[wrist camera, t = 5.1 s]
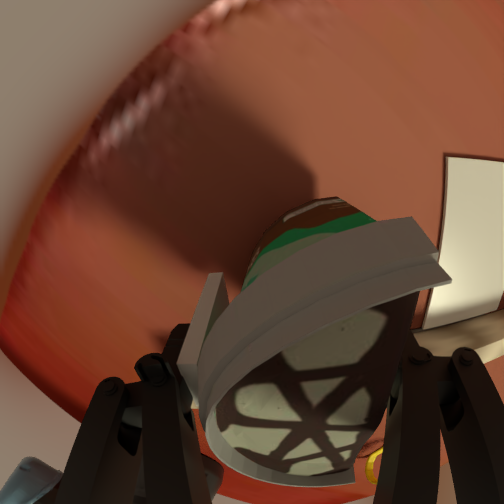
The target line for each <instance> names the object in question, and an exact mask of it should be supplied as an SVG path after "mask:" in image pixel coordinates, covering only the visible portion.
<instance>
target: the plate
mask: <svg viewBox="0 0 504 504" xmlns="http://www.w3.org/2000/svg"><path fill="white" fill-rule="evenodd" d="M437 263H438V264H439V265H440V266H441V267H442V268H443V269H444V270H445V272H446V273H447V274H448V275H449V276H450V277H451V278H452V283H451V284H447V285H442V286H438V287H434V288H431V293H430V297H429V302H428V306H427V310H426V313H425V317H424V321H423V324H422V329H423V330H424V329H429V328H433V327H437V326H441V325H445V324H449V323H453V322H457V321H461V320H464V319H468V318H471V317H475V316H478V315H482V314H485V313H488V312H491V311H495V310H497V308H498V306H499V303H500V300H501V297H502V294H503V291H504V162H498V161H490V160H481V159H471V158H459V157H446V173H445V196H444V209H443V220H442V229H441V237H440V244H439V255H438V260H437Z"/></svg>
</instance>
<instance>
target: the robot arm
mask: <svg viewBox="0 0 504 504" xmlns="http://www.w3.org/2000/svg"><path fill="white" fill-rule="evenodd" d="M228 306H229V300H228V295H227V290H226V285H225V280H224V275H223V272H218V273H209V275H208V278H207V280H206V283H205V285H204V288H203V291H202V294H201V296H200V299H199V302H198V304H197V307H196V310H195V313H194V315H193V318H192V321H191V324H178V325H177V326H176V327H175V328H174V329H173V330H172V331H171V334H170V336H169V338H168V341H167V343H166V347H165V348H164V350H163V353H162V354H159V353H150V354H147V355H145V356H143V357H141V358H140V359H139V360H138V361H137V362H136V364H135V367H134V369H135V370H136V372H137V374H138V376H139V377H140V379H141V381H139V382H134V383H129V384H125V383H124V382H123V380H121V379H120V378H118V377H109V378H106V379H104V380H103V381H102V382H100V383H99V385H98V386H97V388H96V390H95V393H94V395H93V397H92V400H91V402H90V404H89V407H88V409H87V412H86V414H85V416H84V419H83V421H82V424H81V426H80V429H79V432H78V434H77V437H76V439H75V442H74V445H73V447H72V450H71V453H70V456H69V459H68V462H67V464H66V467H65V470H64V473H62V472H61V471H60V470H56V469H54V468H52V467H51V466H49V465H47V464H46V463H44V462H42V461H41V460H39V459H37V458H35V457H25V458H24V459H23V460H22V461H21V462H20V463H19V465H18V466H17V467H16V469H15V470H14V472H13V473H12V474H11V476H10V477H9V479H8V481H7V482H6V483H5V485H4V486H3V488H2V490H1V491H0V504H212V500H213V498H214V496H215V494H216V493H217V491H218V489H219V488H220V486H221V484H222V481H223V473H224V469H223V467H222V466H221V465H220V464H219V463H217V462H216V461H214V460H212V459H210V458H208V457H206V456H204V455H201V452H200V446H199V441H198V436H197V430H196V424H195V418H194V413H193V411H192V409H191V405H192V401H193V400H194V402H195V404H196V406H198V407H199V404H198V361H199V358H200V354H201V350H202V347H203V343H204V341H205V340H206V338H207V336H208V334H209V332H210V330H211V329H212V327H213V325H214V323H215V321H216V320H217V319H218V318H219V316H220V315H221V314H222V313H223V312H224V310H225V309H226V308H227V307H228ZM386 408H387V418H386V428H385V437H384V445H383V452H382V459H381V465H380V471H379V477H378V482H377V487H376V492H375V497H374V501H373V504H436V502H437V494H438V485H439V471H440V429H441V433H442V436H443V440H444V444H445V448H446V451H447V456H448V460H449V464H450V469H451V473H452V478H453V483H454V488H455V494H456V500H457V504H504V404H503V402H502V400H501V398H500V396H499V393H498V391H497V389H496V387H495V385H494V383H493V381H492V379H491V377H490V375H489V373H488V371H487V369H486V367H485V366H484V364H483V362H482V360H481V358H480V356H479V355H478V354H477V352H476V351H474V350H473V349H471V348H468V347H460V348H457V349H456V350H455V351H454V352H453V354H452V356H433V354H432V353H431V352H430V351H429V350H428V349H426V348H424V347H421V346H419V344H418V342H417V340H416V338H415V337H414V335H413V333H412V331H411V329H410V330H409V333H408V337H407V340H406V343H405V346H404V350H403V353H402V356H401V359H400V362H399V365H398V369H397V372H396V376H395V379H394V383H393V386H392V390H391V393H390V397H389V400H388V403H387V407H386Z"/></svg>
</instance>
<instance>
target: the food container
mask: <svg viewBox="0 0 504 504" xmlns="http://www.w3.org/2000/svg"><path fill="white" fill-rule="evenodd" d="M438 255H439V251H438V250H437V249H436V247H435V246H434V245H433V243H432V242H431V241H430V239H429V238H428V237H427V235H426V234H425V233H424V231H423V230H422V229H421V228H420V226H419V225H418V224H417V222H416V221H415V220H414V219H413V218H412V217H405V218H397V219H390V220H382V221H376V220H374V219H373V218H371V217H370V216H368V215H366V214H365V213H363V212H362V211H360V210H358V209H357V208H355V207H354V206H352V205H350V204H349V203H347V202H345V201H344V200H342V199H340V198H339V197H337V196H336V197H329V198H321V199H315V200H312V201H310V202H308V203H305V204H303V205H301V206H299V207H296V208H294V209H292V210H289V211H287V212H286V213H285V214H284V215H283V216H282V217H280V218H279V219H278V220H277V221H276V222H275V223H274V224H272V225H271V226H270V227H269V228H268V229H267V230H266V231H265V232H264V234H263V236H262V237H261V239H260V241H259V243H258V244H257V246H256V248H255V249H254V251H253V253H252V256H251V259H250V263H249V266H248V269H247V273H246V276H245V279H244V283H243V286H242V289H241V293H240V294H239V295H237V296H236V297H235V298H234V300H233V301H232V302H231V303H230V304H229V306H228V307H227V308H226V309H225V310H224V312H223V313H222V314H221V315H220V316H219V318H218V319H217V320H216V321H215V323H214V325H213V327H212V329H211V330H210V332H209V334H208V336H207V338H206V340H205V341H204V343H203V347H202V350H201V354H200V358H199V361H198V404H199V417H200V421H201V424H202V427H203V430H204V431H205V433H206V438H207V441H208V444H209V447H210V448H211V450H212V451H213V452H214V454H215V455H216V456H217V458H219V459H220V460H221V461H222V462H223V463H225V464H226V465H227V466H229V467H230V468H232V469H234V470H236V471H237V472H239V473H241V474H244V475H246V476H249V477H251V478H254V479H257V480H261V481H264V482H268V483H273V484H279V485H285V486H296V487H326V486H337V485H344V484H351V483H355V475H354V467H353V464H354V463H355V459H356V457H357V455H358V453H359V451H360V450H361V448H362V446H363V445H364V443H365V442H366V441H367V440H368V439H369V438H370V437H371V435H372V434H373V433H374V432H375V430H376V429H377V427H378V426H379V424H380V422H381V420H382V418H383V415H384V412H385V409H386V407H387V403H388V400H389V397H390V393H391V390H392V386H393V383H394V379H395V376H396V372H397V369H398V365H399V362H400V359H401V356H402V353H403V350H404V346H405V343H406V340H407V337H408V333H409V330H410V327H411V323H412V319H413V316H414V312H415V308H416V304H417V301H418V297H419V292H420V291H421V290H425V289H430V288H434V287H438V286H442V285H447V284H451V283H452V278H451V277H450V276H449V275H448V274H447V273H446V272H445V270H444V269H443V268H442V267H441V266H440V265H439V264H438V263H437V260H438Z"/></svg>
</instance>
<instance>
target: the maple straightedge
mask: <svg viewBox="0 0 504 504" xmlns="http://www.w3.org/2000/svg"><path fill="white" fill-rule="evenodd" d="M482 315H484V316H482ZM482 315H478V316H475V317H471V318H468V319H464V320H461V321H457V322H453V323H449V324H445V325H441V326H437V327H433V328H429V329H424V330H423V329H422V328H419V329H414V330H411V331H412V333H414V334H413V335H414V337H415V338H416V340H417V342H418V344H419V346H421V347H424V348H426V349H428V350H429V351H430V352H431V353H432V354H433V356H452V354H453V352H454V351H455V350H456V349H457V348H460V347H468V348H471V349H473V350H474V351H476V352H477V354H478V355H479V356H480V358H481V360H482V362H483V364H484V363H486V362H489V361H491V360H493V359H495V358H498V357H500V356H502V355H504V309H502V310H499V311H496V312H493V313H490V314H487V315H485V314H482ZM479 316H480V317H479ZM476 317H477V318H476ZM472 318H474V319H472ZM469 319H470V320H469ZM465 320H467V321H465ZM462 321H463V322H462ZM458 322H459V323H458ZM454 323H456V324H454ZM450 324H452V325H450ZM446 325H448V326H446ZM442 326H444V327H442ZM438 327H440V328H438ZM434 328H436V329H434ZM430 329H432V330H430ZM426 330H427V331H426ZM421 331H423V332H421ZM417 332H419V333H417ZM191 408H195V409H199V407H198V406H196V404H195V402H194V400H193V401H192V405H191Z"/></svg>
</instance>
